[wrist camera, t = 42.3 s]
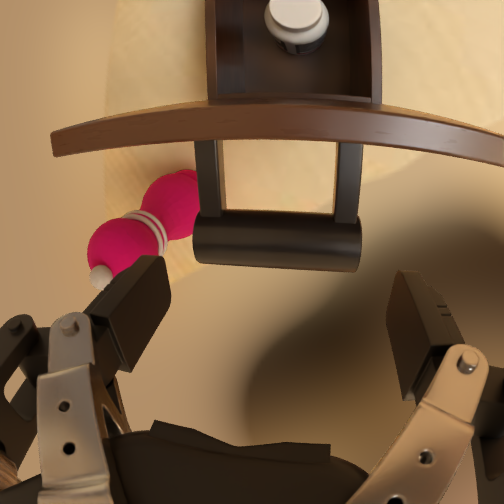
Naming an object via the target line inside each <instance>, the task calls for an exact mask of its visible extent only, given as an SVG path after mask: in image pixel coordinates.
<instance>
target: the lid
mask: <svg viewBox="0 0 504 504" xmlns="http://www.w3.org/2000/svg"><path fill="white" fill-rule="evenodd" d="M50 137H51V144H52V149H53V156H54V157H61V156H66V155H72V154H78V153H84V152H91V151H98V150H105V149H113V148H121V147H129V146H138V145H148V144H160V143H172V142H187V141H194V148H195V161H196V172H197V184H198V194H199V204H200V210H199V212H198V213H197V215H196V218H195V222H194V226H193V237H192V242H193V251H194V255H195V258H196V260H197V261H198V262H199V263H203V264H217V265H218V264H219V265H233V266H248V267H249V266H250V267H265V268H281V269H297V270H316V271H333V272H352V273H353V272H356V271H357V268H358V266H359V262H360V257H361V249H362V227H361V221H360V218H359V216H358V215H357V214H358V204H359V195H360V185H361V173H362V160H363V144H366V145H376V146H385V147H393V148H401V149H409V150H416V151H423V152H429V153H436V154H442V155H447V156H453V157H458V158H463V159H469V160H474V161H478V162H483V163H487V164H492V165H496V166H500V167H504V135H501V134H499V133H495V132H493V131H490V130H487V129H483V128H480V127H477V126H474V125H471V124H467V123H464V122H460V121H456V120H453V119H449V118H445V117H441V116H437V115H433V114H429V113H424V112H420V111H415V110H410V109H405V108H400V107H395V106H389V105H384V104H376V103H367V102H358V101H347V100H334V99H317V98H281V97H269V98H232V99H215V100H203V101H195V102H187V103H179V104H172V105H166V106H160V107H154V108H148V109H142V110H137V111H132V112H127V113H122V114H118V115H113V116H109V117H104V118H100V119H96V120H92V121H88V122H84V123H81V124H77V125H73V126H70V127H66V128H63V129H60V130H56V131H53V132H52V133H51V135H50ZM244 139H270V140H307V141H327V142H336V158H335V177H334V193H333V207H332V213H317V212H298V211H276V210H249V209H227V208H226V192H225V176H224V159H223V141H222V140H244Z"/></svg>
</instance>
